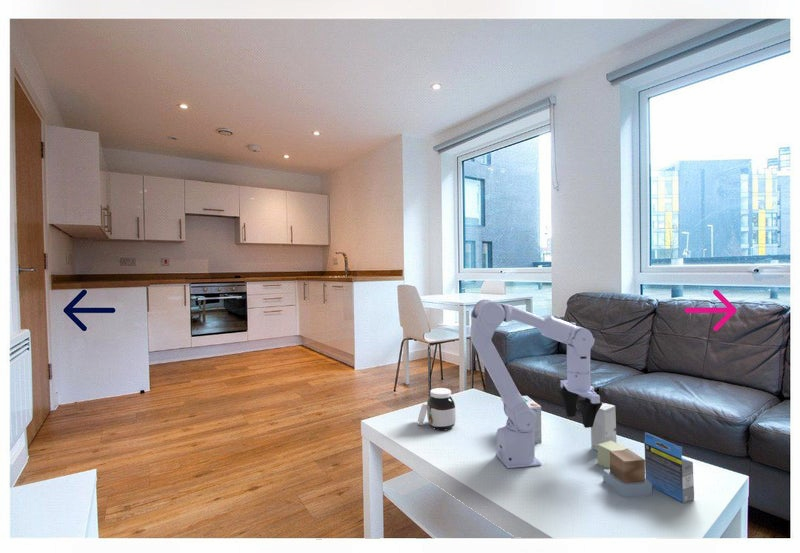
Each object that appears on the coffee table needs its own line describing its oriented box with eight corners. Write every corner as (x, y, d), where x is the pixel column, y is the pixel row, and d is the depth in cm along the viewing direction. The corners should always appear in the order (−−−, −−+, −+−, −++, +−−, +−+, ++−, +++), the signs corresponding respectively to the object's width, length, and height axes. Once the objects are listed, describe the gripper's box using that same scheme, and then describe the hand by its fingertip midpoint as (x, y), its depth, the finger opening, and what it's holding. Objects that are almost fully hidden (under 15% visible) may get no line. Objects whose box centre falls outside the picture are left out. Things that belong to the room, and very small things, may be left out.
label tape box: (695, 500, 84) (694, 444, 84) (682, 504, 83) (681, 447, 83) (656, 480, 93) (655, 429, 92) (644, 483, 91) (643, 431, 91)
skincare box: (605, 454, 106) (605, 410, 106) (590, 448, 110) (589, 405, 109) (617, 448, 109) (616, 405, 109) (601, 442, 113) (601, 401, 113)
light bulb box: (507, 429, 124) (506, 396, 124) (527, 428, 124) (527, 395, 124) (520, 444, 113) (520, 407, 113) (542, 443, 114) (542, 406, 114)
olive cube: (615, 472, 97) (614, 452, 97) (597, 463, 101) (597, 444, 101) (628, 467, 99) (628, 448, 99) (611, 459, 103) (610, 440, 103)
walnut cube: (624, 483, 87) (624, 461, 87) (609, 471, 92) (609, 451, 92) (645, 481, 87) (644, 459, 87) (629, 470, 92) (629, 449, 92)
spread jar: (459, 429, 124) (458, 393, 124) (428, 435, 120) (427, 398, 120) (441, 417, 136) (440, 384, 135) (412, 422, 131) (411, 388, 131)
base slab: (622, 499, 86) (622, 485, 86) (603, 482, 93) (603, 469, 93) (652, 496, 86) (652, 483, 86) (630, 480, 93) (630, 467, 93)
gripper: (610, 377, 97) (611, 431, 97) (576, 364, 112) (576, 410, 112) (585, 379, 96) (585, 433, 96) (553, 365, 110) (554, 412, 111)
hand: (579, 421), depth 104 cm, fingers open, 7 cm apart
